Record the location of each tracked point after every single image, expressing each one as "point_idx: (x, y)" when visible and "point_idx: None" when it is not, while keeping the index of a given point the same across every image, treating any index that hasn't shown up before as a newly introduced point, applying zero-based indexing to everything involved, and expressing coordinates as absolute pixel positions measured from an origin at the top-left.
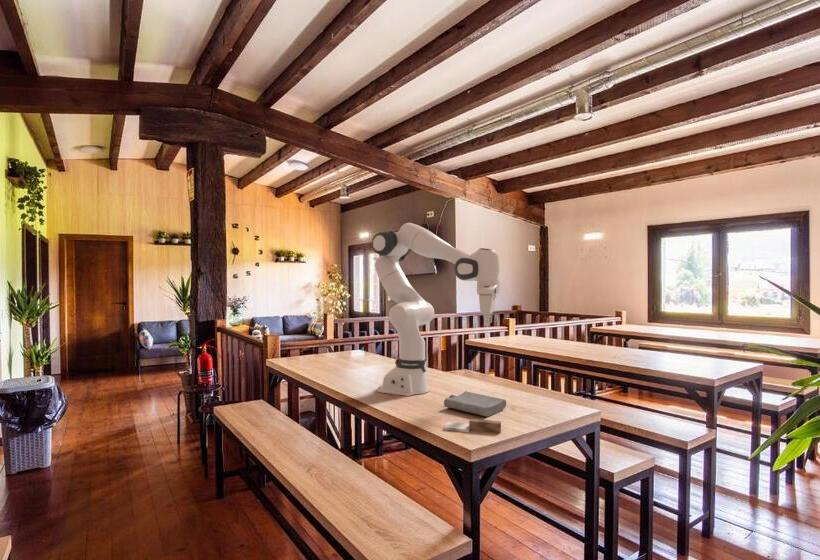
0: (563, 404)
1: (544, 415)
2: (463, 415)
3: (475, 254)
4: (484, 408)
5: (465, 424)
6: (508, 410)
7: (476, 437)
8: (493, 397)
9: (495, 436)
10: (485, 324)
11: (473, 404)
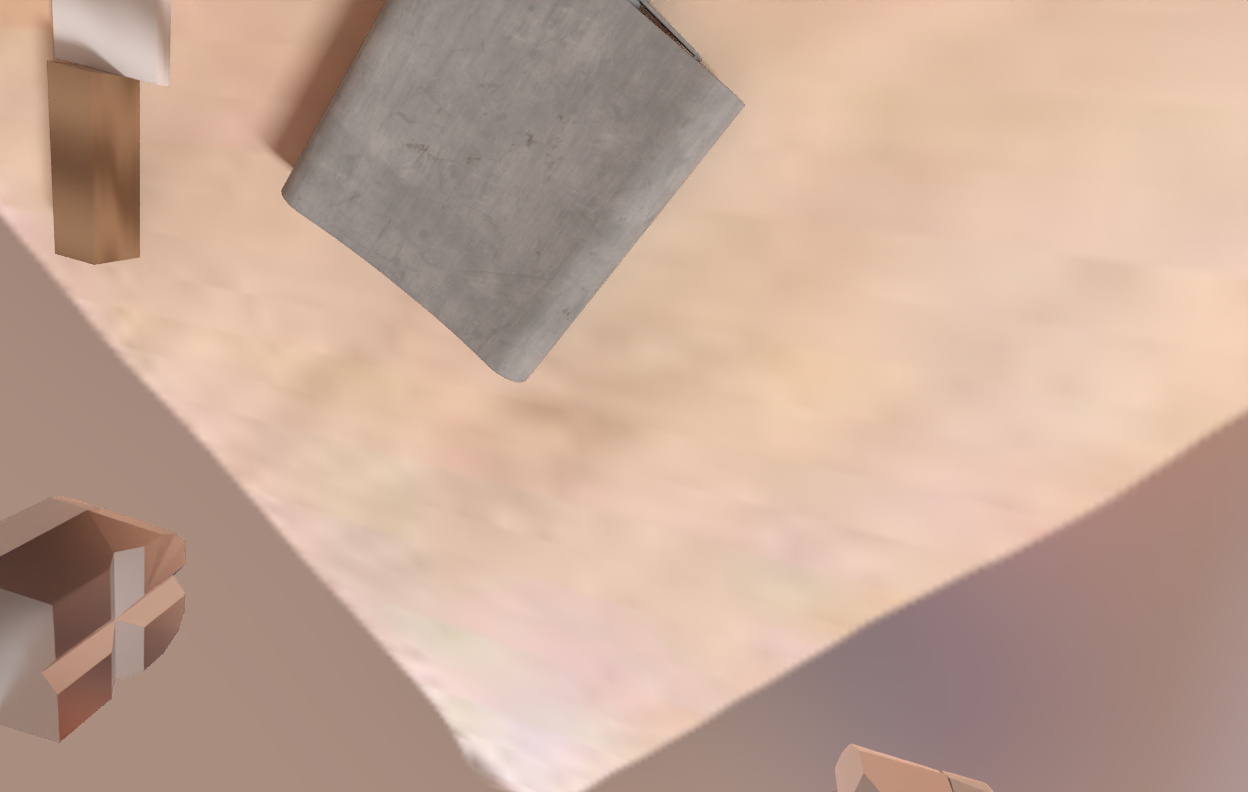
0: (647, 712)
1: (430, 549)
2: None
3: None
4: (284, 194)
5: (131, 44)
6: None
7: (10, 102)
8: (540, 302)
9: None
10: (43, 529)
11: (343, 119)
